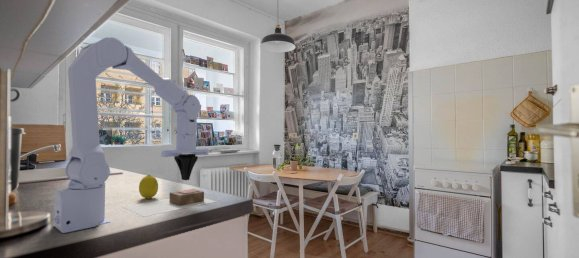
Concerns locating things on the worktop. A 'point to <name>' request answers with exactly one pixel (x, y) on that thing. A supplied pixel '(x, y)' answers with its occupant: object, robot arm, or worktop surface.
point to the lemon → (148, 187)
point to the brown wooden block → (186, 197)
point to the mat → (160, 207)
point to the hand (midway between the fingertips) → (185, 179)
